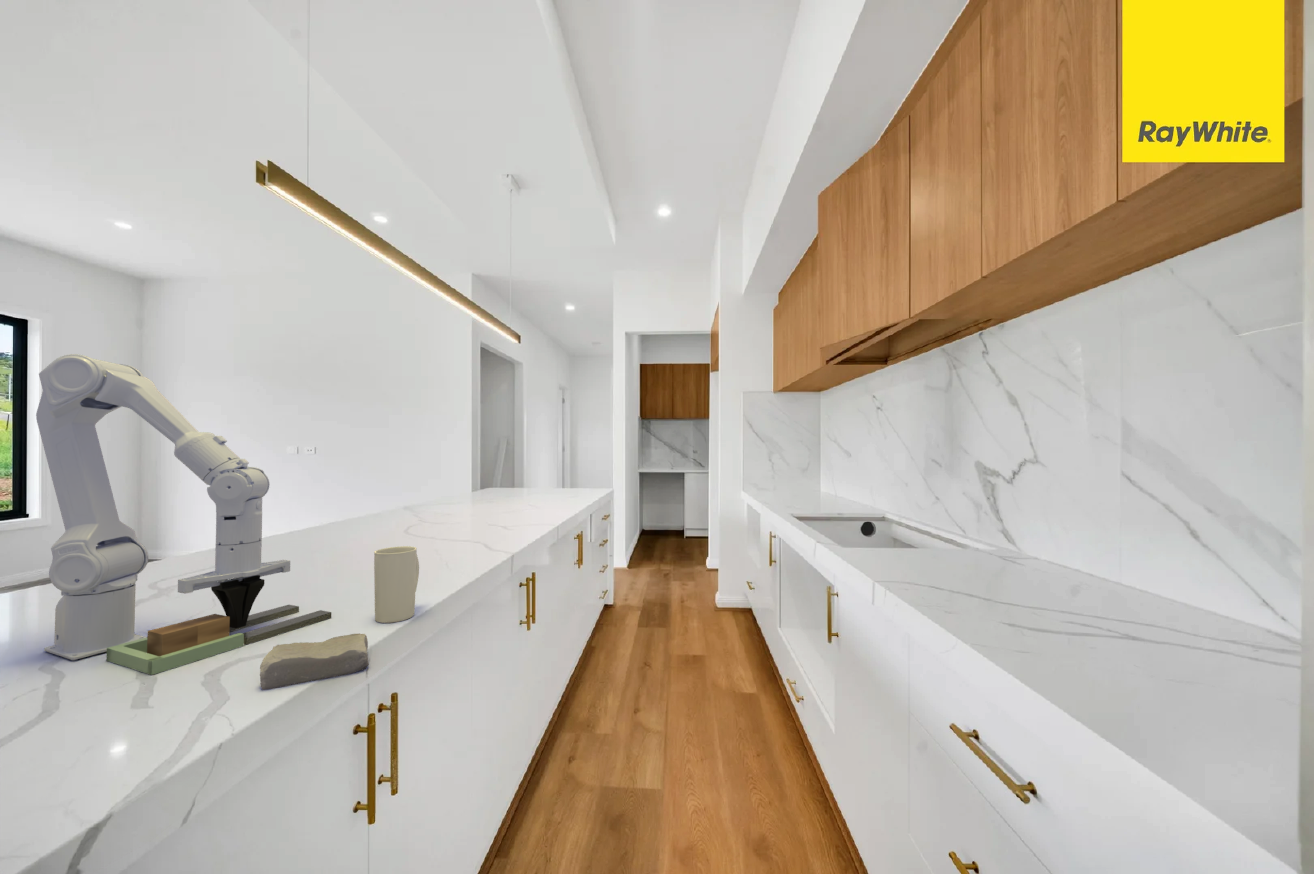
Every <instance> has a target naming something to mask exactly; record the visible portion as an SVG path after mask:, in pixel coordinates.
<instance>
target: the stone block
mask: <svg viewBox="0 0 1314 874" xmlns="http://www.w3.org/2000/svg"><path fill="white" fill-rule="evenodd" d="M367 637H368V636H367V634H366V633H350V634H346V635H345V634H344V635H340V636H334V637H331V638H328V639H326V640H324V641H317V642H291V643H283V644H276V645H275V646H273V647H272V649H270V651H268V652H267V654H266V655H265V656H264V657H263V658H262V661H261V663H260V666H259V680H260V688H261V690H262V691H267V690H272V689H279V688H284V687H288V686H295V685H300V684H305V683H310V682H315V681H320V680H321V681H322V680H325V679H330V678H336V677H341V676H346V675H352V674H355V673H357V672H361V671H364V670H366V669H367V667H368V665H369V657H368V647H369V645H368V644H369V641H368V638H367Z"/></svg>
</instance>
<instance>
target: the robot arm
mask: <svg viewBox="0 0 1314 874" xmlns="http://www.w3.org/2000/svg"><path fill="white" fill-rule="evenodd" d="M38 376H39V380H40V384H41V388H42V392H41V393H42V394H41V396H40V400H39V402H38V407H37V410H36V414H35V417H36V424H37V426H38V432H39V435H40V439H41V442H42V446H43V450H44V454H45V457H46V461H47V466H48V469H49V472H50V477H51V481H52V485H53V487H54V492H55V496H56V500H57V503H58V507H59V512H60V514H61V518H62V522H63V526H64V529H65V531H64V533H63V534H61V536H60V537H59V538H58V539H57V540H56V541H55V543H53V544H52V546H51V547H50V550H51V554H52V560H51V564H50V566H49V570H48V577H49V581H50V582H51V584H52V585H53V586H54V587H55V588H56V589H57V590H59V591H60V595H61V596H62V597H61V598H60V599H59V601H58V602H57V603H56V605H55V609H54V610H55V613H54V640H53V641H54V642H53V645H49V646H46V647H44V650H43V651H45V652H47V653H49V654H53V655H56V656H58V657H59V656H60V657H61V658H65V659H68V660H71V661H75V660H76V661H77V660H78V659H84V658H86V657H92V656H94V655H99V654H103V653H107V648H108V647H112V646H116V645H120V644H124V643H127V642H131V641H135V640H139V639H143V638H146V636H143V635H140V634H136V633H135V624H136V623H135V620H136V619H135V618H136V617H135V616H136V589H137V587H136V583H137V581H138V575H139V574H140V573H142V571H144V569H145V568H146V567H147V565H148V562H149V552H148V550H147V548H146V547H145V546H144V545H143V544H142V543H141V542H140V541H139V539H138V537H137V535H136V531H135V529H133V528H131V527H130V526H128V525H127V524H125V523H124V522H122V521H121V520H120V518H119V517H120V516H119V514H118V513H119V512H118V509H117V505H116V502H115V498H114V497H115V496H114V494H113V491H112V490H113V489H112V486H111V482H110V479H109V474H108V472H107V467H106V464H105V458H104V456H103V451H102V447H101V444H100V440H99V436H98V431H97V428H96V424H97V423H98V422H99V421H101V419H103V418H104V417H105V416H106V415H107V414H108V415H109V413H111V412H114V411H116V410H117V409H120V408H122V407H124V408H127V409H130V410H132V411H133V412H134V413H135V414H136V415H138V416H139V417H140V418H142V419H143V420H144V421H145V422H147V424H149V425H150V426H151V427H153V428H154V429H155V430H157V431H158V432H159V433H161V434H162V435H163V436H164V437H165V438H167V440H169V441H170V442H172V443H173V444H174V451H173V454H174V455H173V456H174V457H175V458H176V459H177V460H179V461H180V462H181V463H182V464H183V465H185V467H187V468H188V469H189V471H191V473H193V474H195V476H197V477H198V479H200V480H201V481H202V482H204V483H205V484H206V485H207V488H206V492H207V495H208V496H209V498H210V499H211V500H212V501H213V503H214V504H215V513H216V514H215V519H216V520H215V521H216V524H215V550H214V551H215V553H214V554H215V555H214V556H215V557H214V558H215V559H214V561H215V563H214V564H215V565H214V570H212V571H209V572H204V573H201V574H196V575H193V576H189V577H186V578H180V579H179V578H178V579H177V593H180V594H191V593H193V592H194V591H199V590H204V589H209V588H210V589H211V591H212V593H213V594H214V595H215V597H216V598H217V600H218V601H219V602H220V604H221V606H222V609H223V611H224V613H225V616H228V617H230V626H229V627H231V628H240V627H243V626H246V623H247V619H248V616H249V615H250V613H251V610H252V607H253V605H254V604H255V603H254V602H255V601H256V599H257V597H258V595H259V594H260V592H261V591H262V589H263V588H264V586H265V579H264V578H261V577H266V576H271V575H275V574H280V573H288V572H290V571H291V560H288V559H280V560H274V561H273V560H272V561H266V562H262V548H263V547H262V543H263V540H262V539H263V538H262V537H263V531H262V530H263V498H264V497H265V496H266V495H267V493H268V492H269V490H270V479H269V477H268V476H267V475H266V473H265V471H264V470H263V469H261V468H260V467H255V466H248V465H249V463H250V462H249V461H248V460H247V459H246V458H240V457H239V456H238V455H237V454H236V452H234V451H233V450H232V449H230V448H229V446H228V445H226V443H227V442H228V440H227V439H226V438H225V437H224V436H222V435H215V434H214V433H213V432H204V431H203V432H202V431H199V430H197V429H196V427H194V425H193V424H191V422H190V421H189V420H188V419H187V418H185V416H184V415H183V414H181V413H182V412H180V411H179V410H178V409H177V408H176V407H175V406H174V405H173V404H172V403H171V402H170V401H169V400H168V399H167V398H166V397H165V396H164V395H163V394H162V393H161V392H160V391H159V390H158V388H157V387H156V385H155V383H154V382H153V380H151V379H149V378H148V377H145V376H144V375H143V373H142V372H141V371H140V370H138V369H137V368H136V367H134V366H133V365H129V364H123V363H119V364H118V363H114V362H110V361H106V360H101V359H97V358H96V359H95V358H92V357H89V356H87V355H83V354H79V353H78V354H77V353H74V354H72V353H71V354H64V355H62V356H60V357H57V358H56V359H54V360H53V361H52V362H51V363H50V364H48V365H47V366H45V368H44V369H42V370H41V371H40V372H38Z"/></svg>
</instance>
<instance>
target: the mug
mask: <svg viewBox="0 0 1314 874" xmlns="http://www.w3.org/2000/svg"><path fill="white" fill-rule="evenodd" d="M373 553H374V558H373V559H374V561H373V568H374V569H373V571H374V573H373V574H374V620H375V622H376V623H380V624H390V623H399V622H402V621H406V620H408V619H410V618H412V617H414V616H415V613H416V612H415V609H416V607H415V606H416V605H415V604H416V592H417V587H418V582H419V575H420V561H419V557H418V555H417V547H416V546H410V545H409V546H408V545H407V546H404V545H403V546H392V547H386V548H380V549H377V550H374V552H373Z"/></svg>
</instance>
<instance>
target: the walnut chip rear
mask: <svg viewBox="0 0 1314 874" xmlns="http://www.w3.org/2000/svg"><path fill="white" fill-rule="evenodd" d="M183 622H185V623H190V624H194V625H198V642H197V645H200V644H203V643H207V642H210V641H213V640H217V639H220V638H224V637H227V636H230V632H229V626H230V617H228V616H226V615H223V614H217V613H212V614H208V615H205V616H201V617H198V618H197V617H196V618H192V619H190V620H189V619H188V620H185V621H183Z"/></svg>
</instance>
